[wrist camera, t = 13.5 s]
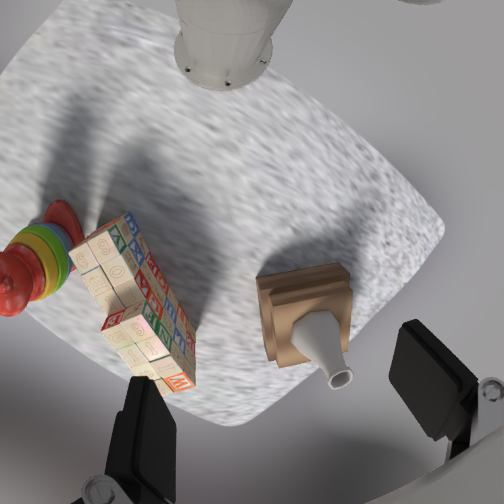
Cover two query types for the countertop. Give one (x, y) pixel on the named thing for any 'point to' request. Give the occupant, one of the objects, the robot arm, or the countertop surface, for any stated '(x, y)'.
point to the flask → (322, 346)
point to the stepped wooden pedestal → (301, 306)
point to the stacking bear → (38, 259)
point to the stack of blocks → (137, 305)
